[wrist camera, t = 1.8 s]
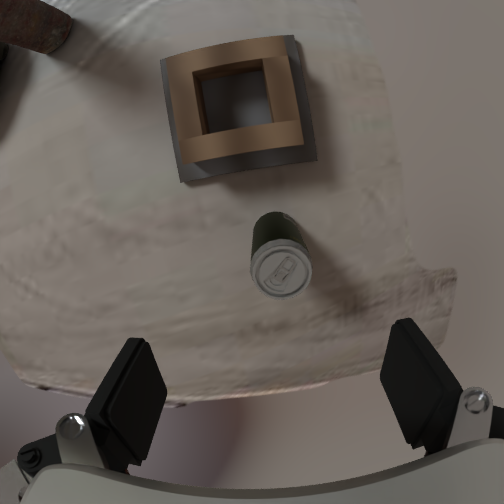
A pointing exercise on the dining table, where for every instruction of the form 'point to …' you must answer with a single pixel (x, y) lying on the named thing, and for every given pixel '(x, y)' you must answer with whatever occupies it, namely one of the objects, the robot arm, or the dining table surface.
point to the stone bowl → (3, 50)
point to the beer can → (279, 257)
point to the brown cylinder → (33, 25)
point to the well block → (238, 107)
